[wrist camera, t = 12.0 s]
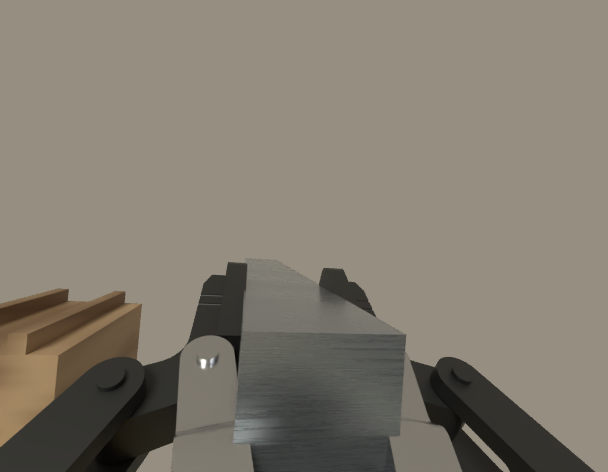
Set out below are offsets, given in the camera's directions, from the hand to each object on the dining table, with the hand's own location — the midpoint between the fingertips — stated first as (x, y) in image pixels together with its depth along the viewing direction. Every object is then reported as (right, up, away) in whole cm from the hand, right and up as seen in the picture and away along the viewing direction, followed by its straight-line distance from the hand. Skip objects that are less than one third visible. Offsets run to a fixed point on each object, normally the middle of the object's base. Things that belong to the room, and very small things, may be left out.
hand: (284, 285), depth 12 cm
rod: (-1, -3, +5) cm, 6 cm away
